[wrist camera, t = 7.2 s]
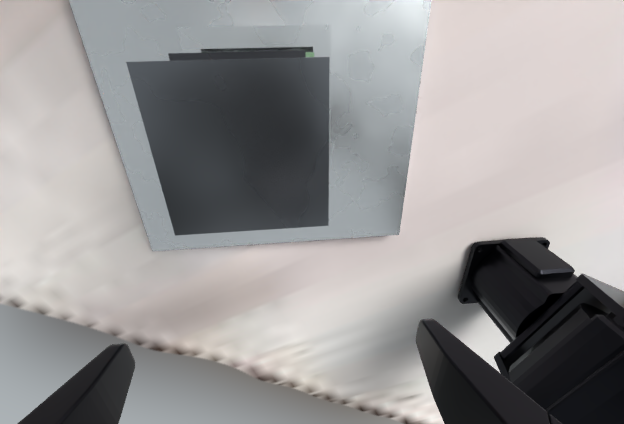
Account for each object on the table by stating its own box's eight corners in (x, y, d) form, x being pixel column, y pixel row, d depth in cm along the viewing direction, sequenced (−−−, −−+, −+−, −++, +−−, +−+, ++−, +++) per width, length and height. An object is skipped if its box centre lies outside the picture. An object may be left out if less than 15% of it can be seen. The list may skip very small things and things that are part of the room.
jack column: (309, 147, 15) (333, 230, 8) (224, 151, 15) (170, 240, 8) (306, 53, 13) (336, 48, 6) (209, 55, 13) (115, 53, 6)
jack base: (394, 227, 23) (453, 317, 15) (157, 243, 22) (86, 349, 14) (441, -141, 14) (659, -410, 6) (32, -150, 12) (-403, -510, 5)
